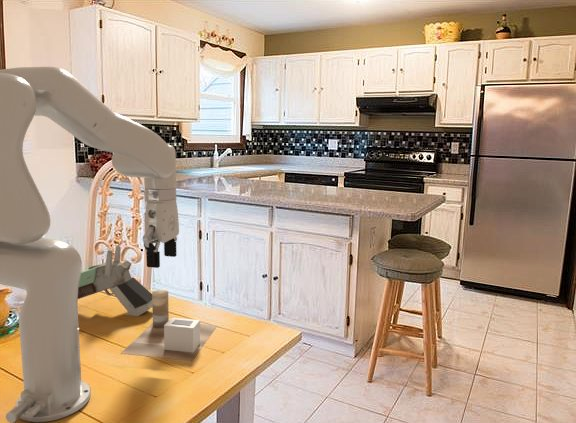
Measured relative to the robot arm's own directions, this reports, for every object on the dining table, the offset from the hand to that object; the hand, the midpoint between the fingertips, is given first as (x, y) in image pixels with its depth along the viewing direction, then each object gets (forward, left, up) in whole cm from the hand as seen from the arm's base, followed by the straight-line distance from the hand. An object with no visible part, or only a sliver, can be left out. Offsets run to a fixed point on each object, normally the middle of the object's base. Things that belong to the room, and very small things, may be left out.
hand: (162, 261), depth 113 cm
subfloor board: (-6, -5, -19) cm, 20 cm away
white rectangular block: (-10, -9, -18) cm, 22 cm away
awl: (0, +1, -18) cm, 18 cm away
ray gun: (+7, +23, -19) cm, 31 cm away
